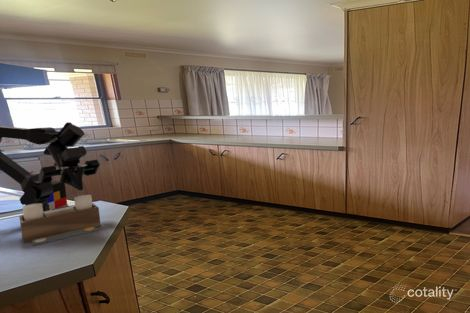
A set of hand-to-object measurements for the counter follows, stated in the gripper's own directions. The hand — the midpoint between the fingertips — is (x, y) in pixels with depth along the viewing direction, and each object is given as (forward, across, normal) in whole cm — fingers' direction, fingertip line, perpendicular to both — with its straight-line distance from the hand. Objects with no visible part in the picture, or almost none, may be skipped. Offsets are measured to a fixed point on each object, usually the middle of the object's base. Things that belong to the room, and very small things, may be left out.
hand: (81, 189), depth 104 cm
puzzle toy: (-17, +3, +33) cm, 37 cm away
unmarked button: (+4, -14, +8) cm, 16 cm away
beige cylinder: (+7, -1, +5) cm, 8 cm away
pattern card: (+13, -9, +4) cm, 16 cm away
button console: (+8, -7, +9) cm, 14 cm away
